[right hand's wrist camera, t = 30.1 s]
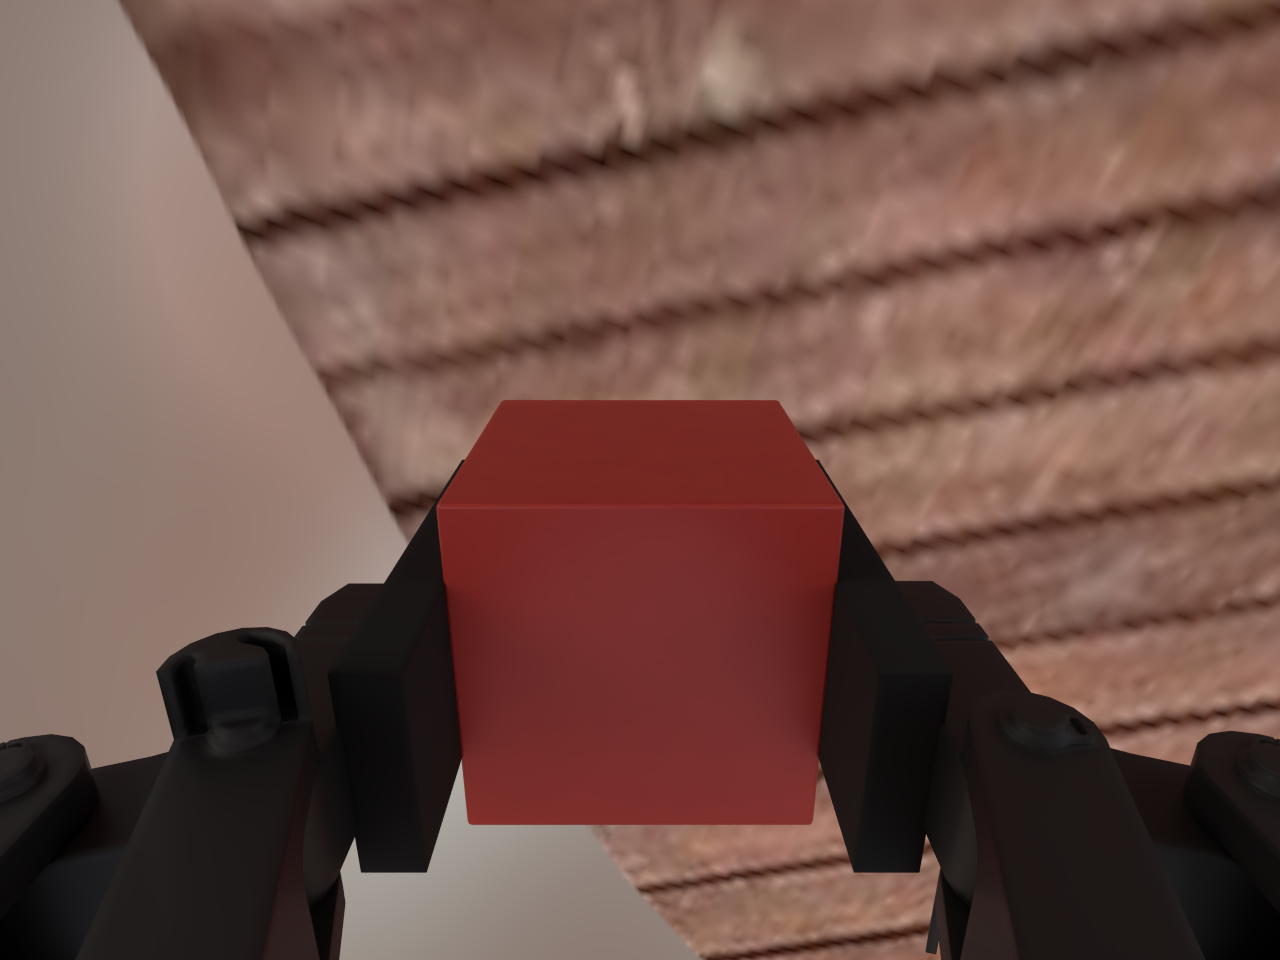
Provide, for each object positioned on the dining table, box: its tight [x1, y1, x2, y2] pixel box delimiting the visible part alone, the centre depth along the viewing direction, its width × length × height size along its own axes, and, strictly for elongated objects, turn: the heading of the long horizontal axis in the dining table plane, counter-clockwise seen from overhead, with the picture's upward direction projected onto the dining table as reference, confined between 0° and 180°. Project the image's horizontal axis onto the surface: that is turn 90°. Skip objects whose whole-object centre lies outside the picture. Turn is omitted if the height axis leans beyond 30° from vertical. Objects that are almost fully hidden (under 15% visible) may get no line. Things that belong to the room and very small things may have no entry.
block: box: [436, 400, 845, 825], centre depth 13 cm, size 5×5×5 cm
